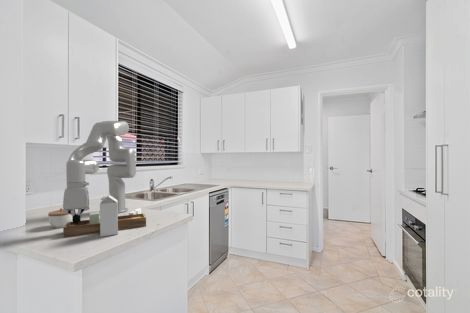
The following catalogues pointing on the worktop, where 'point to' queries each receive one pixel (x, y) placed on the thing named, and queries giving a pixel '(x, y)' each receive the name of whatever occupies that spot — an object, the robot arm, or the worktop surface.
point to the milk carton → (108, 216)
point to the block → (94, 218)
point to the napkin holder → (135, 211)
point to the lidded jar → (59, 218)
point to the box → (87, 228)
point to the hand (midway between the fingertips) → (76, 223)
